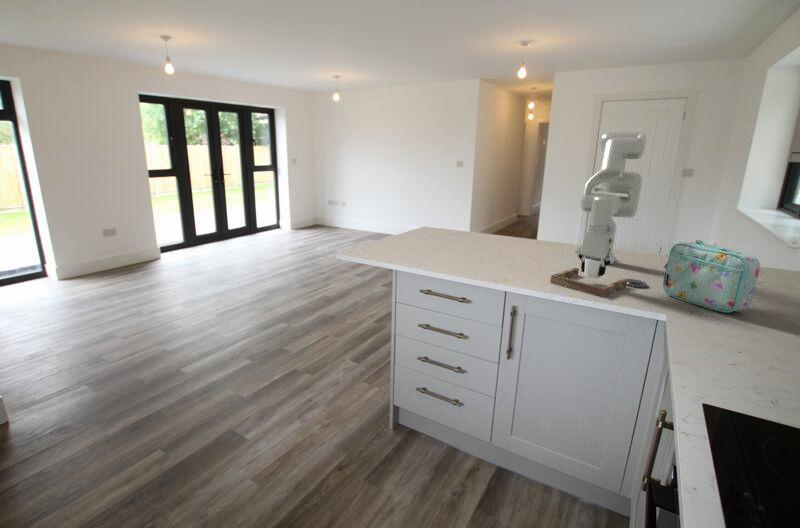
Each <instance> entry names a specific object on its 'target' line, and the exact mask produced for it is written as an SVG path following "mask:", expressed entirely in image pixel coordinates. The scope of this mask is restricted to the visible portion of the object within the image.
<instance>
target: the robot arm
mask: <svg viewBox="0 0 800 528" xmlns="http://www.w3.org/2000/svg"><path fill="white" fill-rule="evenodd" d="M646 145H647V135H646V133H645V132H642V131H641V132H637V131H633V132H632V131H631V132H629V131H628V132H627V131H626V132H624V131H621V132H620V131H618V132H617V131H615V132H614V131H613V132H612V131H611V132H606V133H604V134H602V135H601V137H600V149H601V152H602V154H601V160H600V166H599V170H598V171H597V172H595V173H594V174H593V175H592V176H590V178H589V179H588V180H587V181H586V183H585V185H584V186H583V190H582V195H581V198H580V199H581V200H580V209H581V211H583V212H585V213H590V215H589V222H588V229H587V230H586V232H585V234H584V237H583V240H582V244H581V247H579V248H578V249H575V253H576V255H577V257H578V258H579V259H580V262H581V265H580V269H581V273H584V272H585V258H586V257H592V258H597V259H600V261H601V266H600V268H599V274H598V276H600V277H602V276H604V275H605V274H606V268H607V266H609V265H614V264H615V261H616V260H617V257H616V256H615V255H614V252H613V249H614V245H615V243H614V242H615V237H616V231H617V224H616V222H615V220H614V219H613V217H615V218H623V219H624V218H629V219H631V218H634V217H635V216H636V215H637V211H638V208H639V201H640V195H641V190H642V182H643V177H642V175H641V174H640V173H639V172H634V171H625V169H626V164H627V160H640V159H641V158H642V157H643V155H644V153H645V150H646ZM599 185H601V189H602V192H606V193H611V194H604V193H594V192H593V193H592V190H593V189H594V188H596V187H597V186H599ZM616 194H626V195H627V196H621V195H616Z"/></svg>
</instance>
